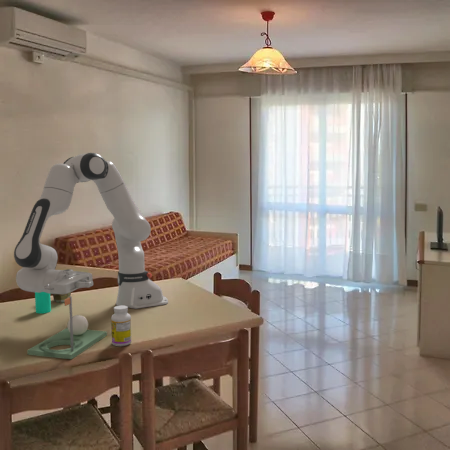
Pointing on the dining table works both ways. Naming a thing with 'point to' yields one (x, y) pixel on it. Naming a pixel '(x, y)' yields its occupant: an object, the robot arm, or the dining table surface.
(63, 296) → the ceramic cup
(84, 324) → the ball
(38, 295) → the candle
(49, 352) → the green
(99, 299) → the dining table surface
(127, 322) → the supplement bottle
